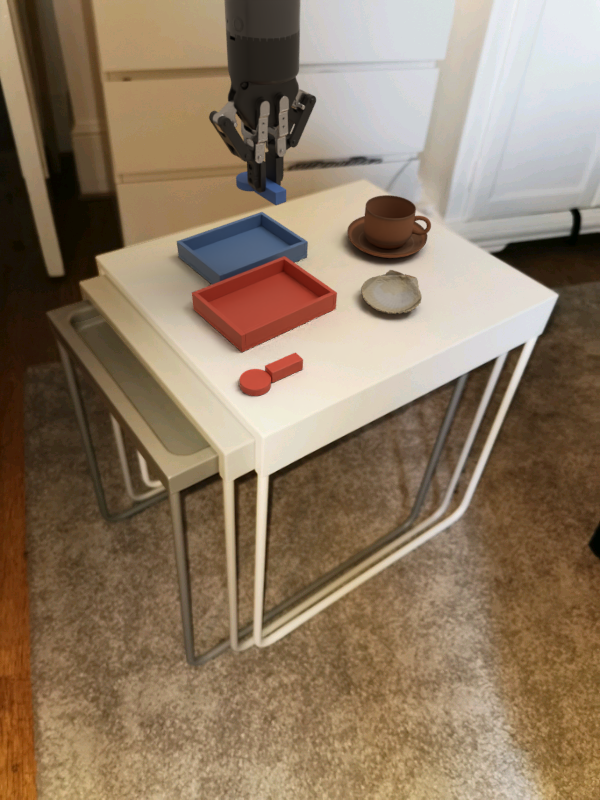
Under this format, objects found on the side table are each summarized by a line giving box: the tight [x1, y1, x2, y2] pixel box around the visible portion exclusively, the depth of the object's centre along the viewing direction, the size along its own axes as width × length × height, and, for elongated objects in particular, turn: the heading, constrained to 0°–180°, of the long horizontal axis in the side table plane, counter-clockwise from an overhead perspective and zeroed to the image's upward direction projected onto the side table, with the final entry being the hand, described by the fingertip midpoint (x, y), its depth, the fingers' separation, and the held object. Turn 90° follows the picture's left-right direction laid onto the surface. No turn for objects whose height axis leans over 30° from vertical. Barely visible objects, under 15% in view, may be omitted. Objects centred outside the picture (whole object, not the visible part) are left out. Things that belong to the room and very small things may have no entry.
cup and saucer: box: [346, 194, 432, 259], centre depth 95 cm, size 12×12×6 cm
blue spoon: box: [235, 170, 287, 206], centre depth 77 cm, size 8×4×2 cm, turn 38°
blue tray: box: [176, 211, 309, 285], centre depth 93 cm, size 15×11×3 cm
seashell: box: [360, 269, 423, 315], centre depth 85 cm, size 8×3×8 cm
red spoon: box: [239, 352, 304, 397], centre depth 74 cm, size 8×4×2 cm, turn 126°
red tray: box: [191, 256, 338, 353], centre depth 83 cm, size 15×11×3 cm
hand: (265, 187), depth 76 cm, fingers closed on blue spoon, 1 cm apart
